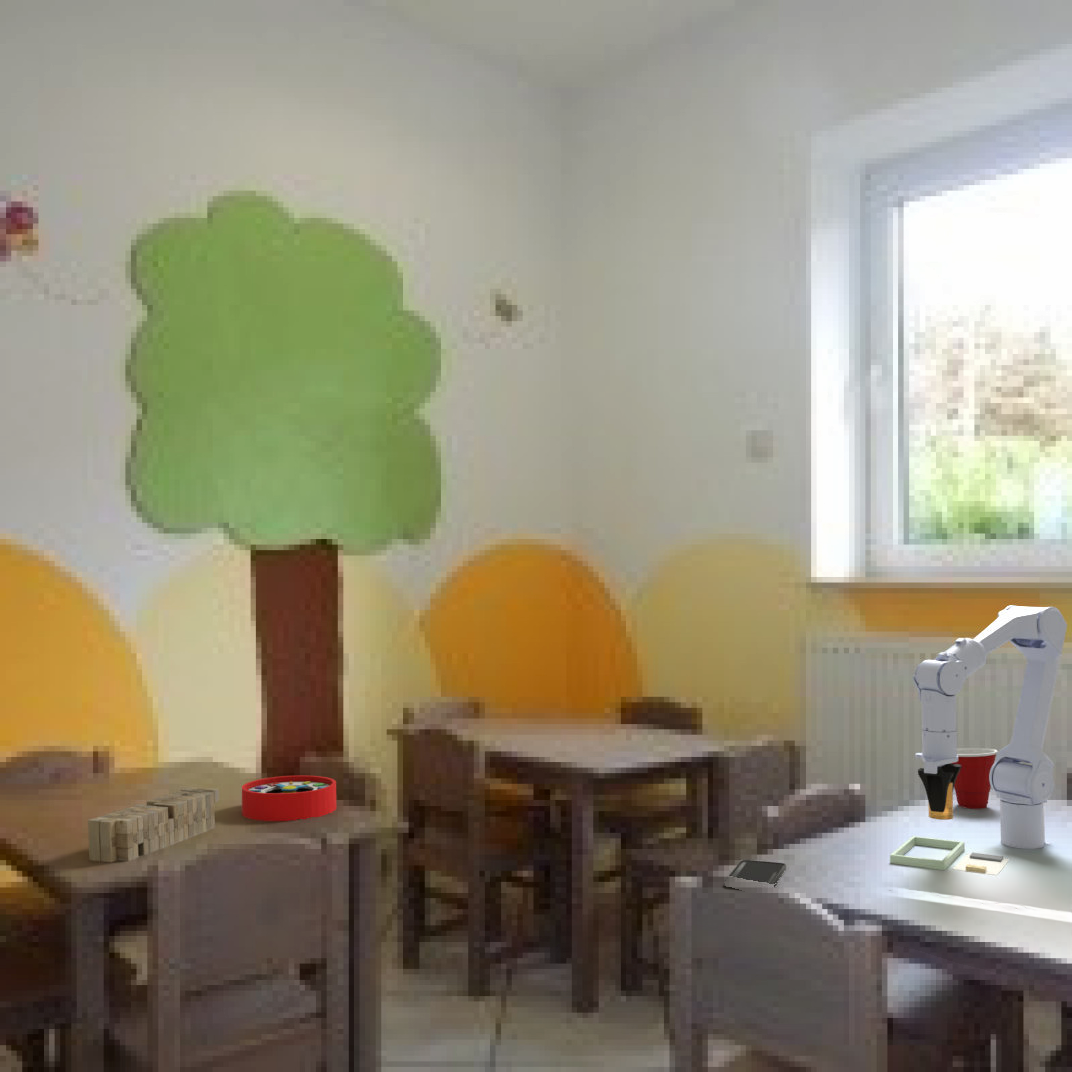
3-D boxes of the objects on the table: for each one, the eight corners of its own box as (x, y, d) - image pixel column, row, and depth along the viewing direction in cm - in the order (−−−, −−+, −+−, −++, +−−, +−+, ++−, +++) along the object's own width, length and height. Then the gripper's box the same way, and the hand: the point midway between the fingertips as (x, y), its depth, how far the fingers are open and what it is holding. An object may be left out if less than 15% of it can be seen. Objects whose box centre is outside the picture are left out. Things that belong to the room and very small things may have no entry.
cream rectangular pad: (966, 860, 198) (966, 850, 198) (1009, 866, 194) (1009, 855, 194) (952, 876, 188) (952, 865, 188) (997, 882, 185) (997, 871, 185)
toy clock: (267, 798, 231) (226, 784, 247) (267, 827, 231) (226, 810, 247) (353, 784, 244) (308, 771, 259) (353, 812, 244) (309, 797, 259)
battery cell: (931, 813, 198) (930, 775, 198) (955, 816, 196) (954, 777, 196) (926, 818, 195) (925, 779, 195) (950, 820, 193) (949, 781, 193)
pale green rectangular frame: (912, 849, 206) (912, 835, 206) (964, 856, 201) (964, 842, 201) (890, 869, 193) (890, 854, 193) (945, 876, 188) (944, 861, 188)
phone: (722, 882, 184) (742, 859, 198) (722, 889, 184) (742, 865, 198) (771, 887, 181) (787, 863, 195) (771, 894, 181) (788, 869, 195)
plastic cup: (961, 798, 248) (959, 743, 248) (1008, 806, 240) (1007, 749, 240) (934, 805, 241) (933, 749, 241) (982, 814, 233) (981, 755, 233)
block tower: (122, 869, 204) (221, 827, 231) (121, 823, 204) (220, 786, 231) (87, 865, 207) (189, 824, 234) (86, 819, 206) (188, 783, 234)
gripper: (925, 722, 204) (926, 798, 204) (904, 733, 192) (906, 814, 191) (966, 725, 200) (967, 802, 200) (948, 737, 188) (949, 819, 188)
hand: (940, 808), depth 195 cm, fingers closed on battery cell, 4 cm apart
